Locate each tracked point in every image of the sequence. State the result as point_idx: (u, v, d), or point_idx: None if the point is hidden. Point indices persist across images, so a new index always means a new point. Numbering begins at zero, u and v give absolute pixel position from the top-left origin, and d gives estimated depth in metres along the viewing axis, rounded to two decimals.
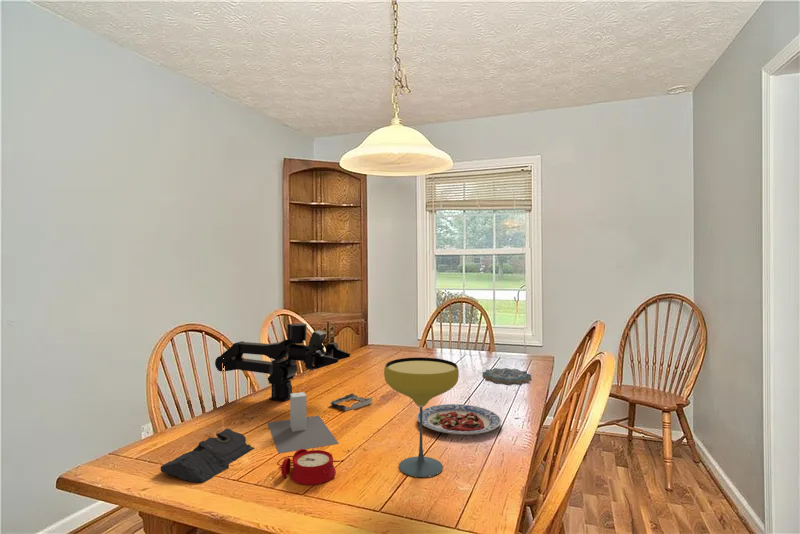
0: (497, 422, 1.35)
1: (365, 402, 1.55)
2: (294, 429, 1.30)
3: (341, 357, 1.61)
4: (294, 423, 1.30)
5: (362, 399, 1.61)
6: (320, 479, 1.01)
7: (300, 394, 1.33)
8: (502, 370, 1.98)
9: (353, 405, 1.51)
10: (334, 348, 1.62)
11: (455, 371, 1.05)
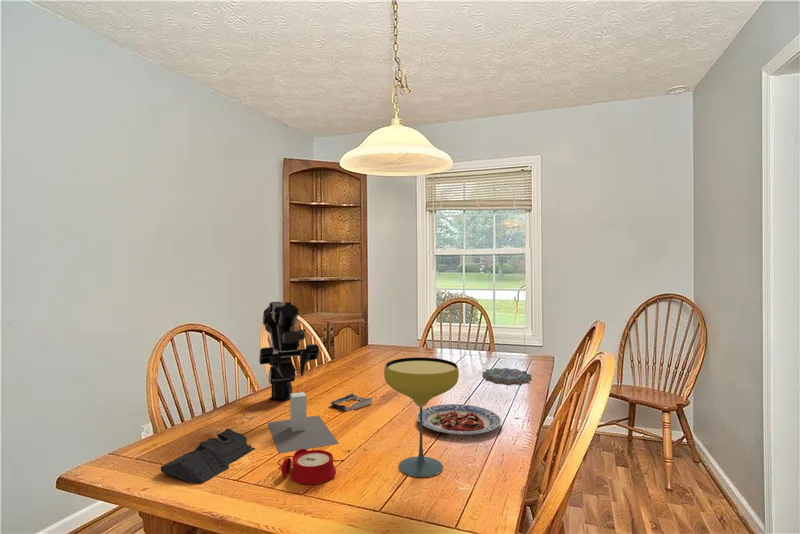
0: (497, 422, 1.35)
1: (365, 402, 1.55)
2: (294, 429, 1.30)
3: (300, 368, 1.46)
4: (294, 423, 1.30)
5: (362, 399, 1.60)
6: (320, 479, 1.01)
7: (300, 394, 1.33)
8: (502, 370, 1.98)
9: (353, 405, 1.51)
10: (301, 355, 1.46)
11: (455, 371, 1.05)
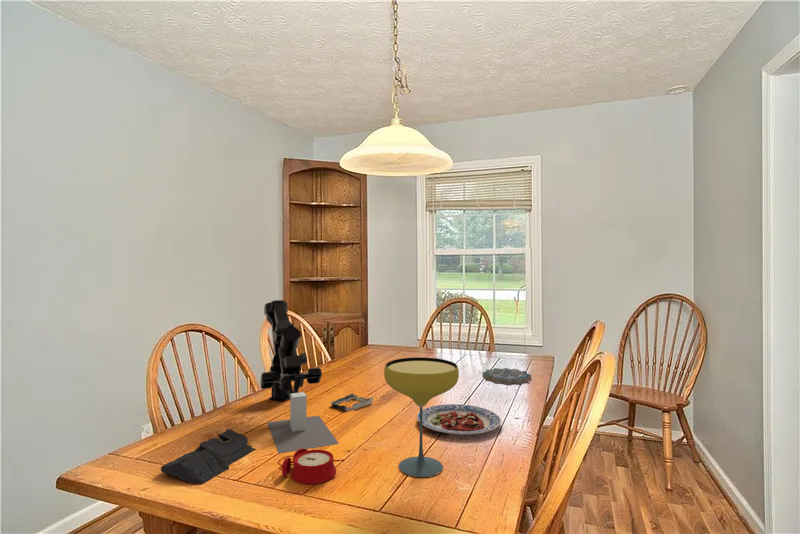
0: (497, 422, 1.35)
1: (366, 402, 1.55)
2: (294, 429, 1.30)
3: None
4: (294, 423, 1.30)
5: (362, 399, 1.60)
6: (320, 478, 1.01)
7: (300, 394, 1.33)
8: (502, 370, 1.98)
9: (354, 405, 1.51)
10: (295, 380, 1.42)
11: (455, 371, 1.05)
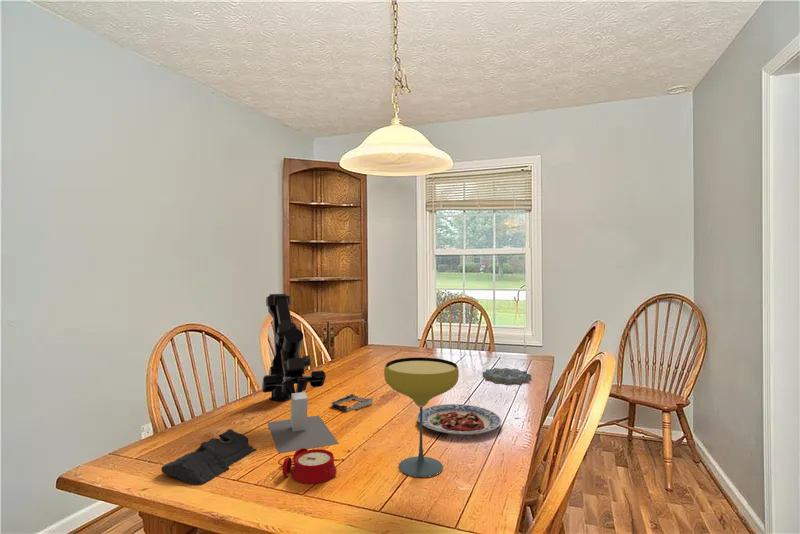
0: (497, 422, 1.35)
1: (366, 402, 1.55)
2: (294, 429, 1.30)
3: None
4: (294, 424, 1.30)
5: (363, 399, 1.60)
6: (321, 478, 1.02)
7: (301, 395, 1.31)
8: (502, 370, 1.98)
9: (354, 405, 1.51)
10: (298, 383, 1.37)
11: (455, 371, 1.05)
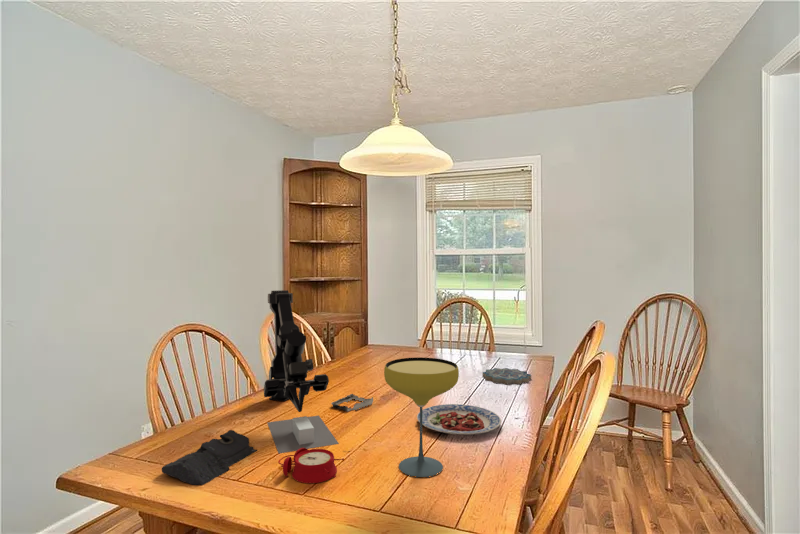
0: (497, 422, 1.35)
1: (366, 402, 1.55)
2: None
3: (299, 402, 1.33)
4: None
5: (363, 399, 1.60)
6: (321, 477, 1.02)
7: (308, 436, 1.22)
8: (502, 370, 1.98)
9: (355, 406, 1.50)
10: (300, 388, 1.33)
11: (455, 371, 1.05)
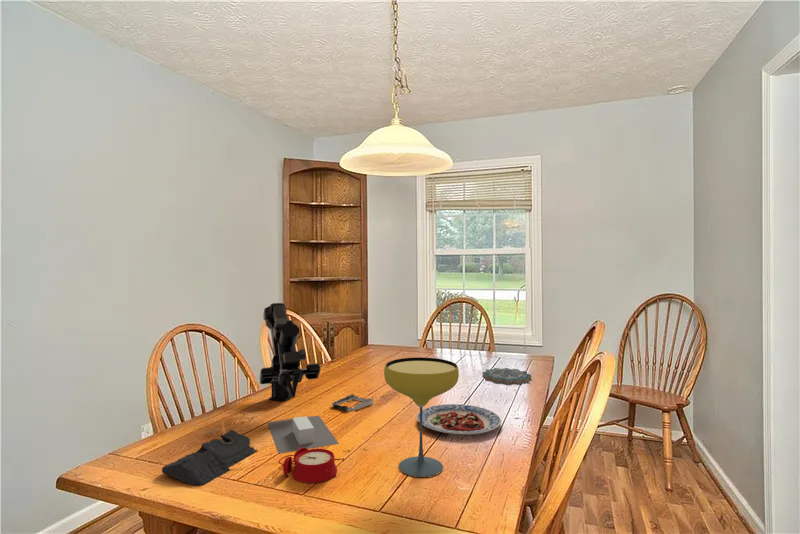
0: (497, 422, 1.35)
1: (367, 402, 1.55)
2: None
3: (292, 389, 1.43)
4: None
5: (363, 400, 1.60)
6: (322, 477, 1.02)
7: (308, 436, 1.22)
8: (502, 370, 1.98)
9: (355, 406, 1.50)
10: (293, 375, 1.44)
11: (455, 371, 1.05)
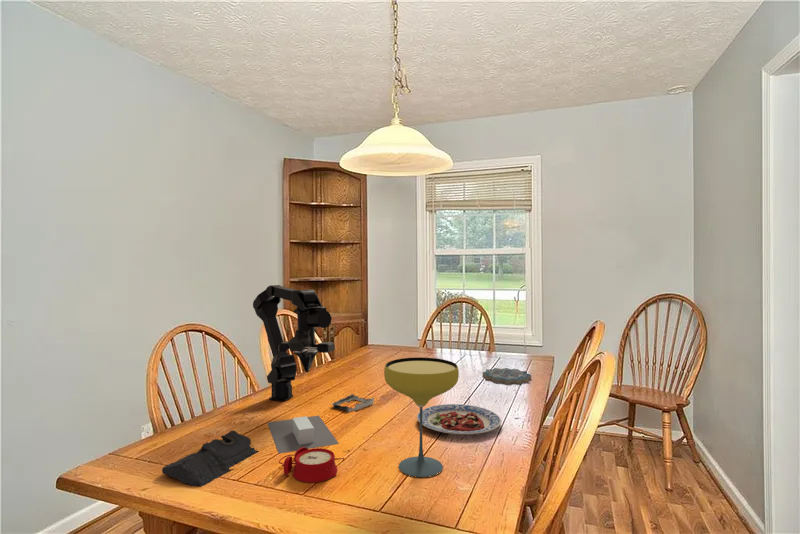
0: (497, 422, 1.35)
1: (367, 403, 1.55)
2: None
3: None
4: None
5: (363, 400, 1.60)
6: (322, 477, 1.02)
7: (308, 436, 1.22)
8: (502, 370, 1.98)
9: (356, 406, 1.50)
10: None
11: (455, 371, 1.05)
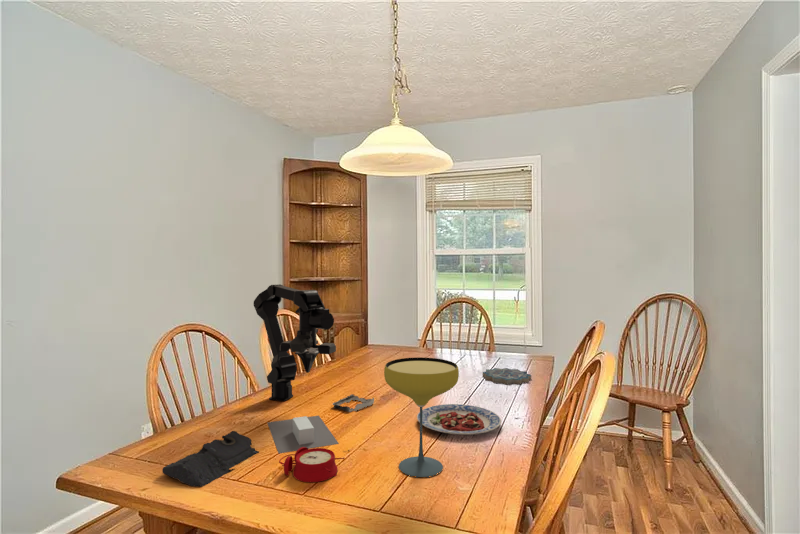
0: (497, 422, 1.35)
1: (367, 403, 1.55)
2: None
3: None
4: None
5: (363, 400, 1.60)
6: (322, 476, 1.02)
7: (308, 436, 1.22)
8: (502, 370, 1.98)
9: (356, 406, 1.50)
10: None
11: (455, 371, 1.05)
